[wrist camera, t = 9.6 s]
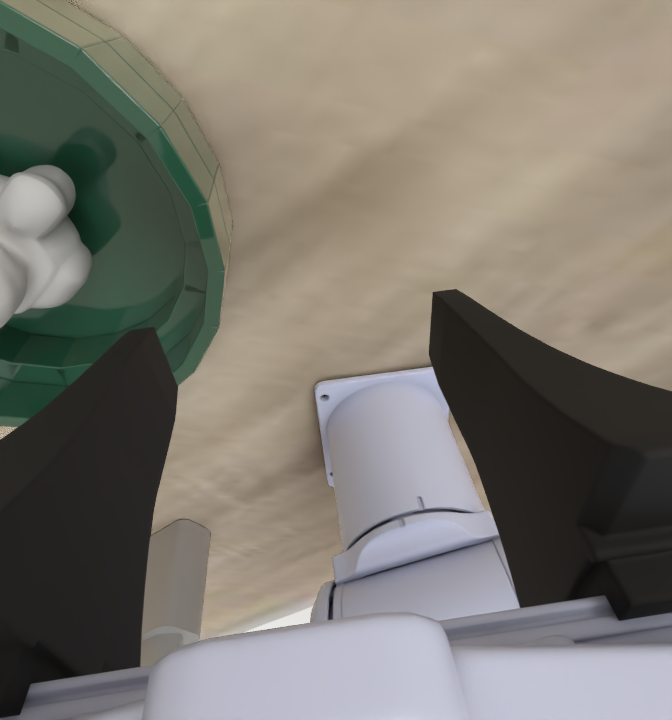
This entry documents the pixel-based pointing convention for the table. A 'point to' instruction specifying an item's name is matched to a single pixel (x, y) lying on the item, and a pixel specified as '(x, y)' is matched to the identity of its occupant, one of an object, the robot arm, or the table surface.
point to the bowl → (108, 200)
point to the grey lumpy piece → (39, 242)
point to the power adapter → (174, 589)
